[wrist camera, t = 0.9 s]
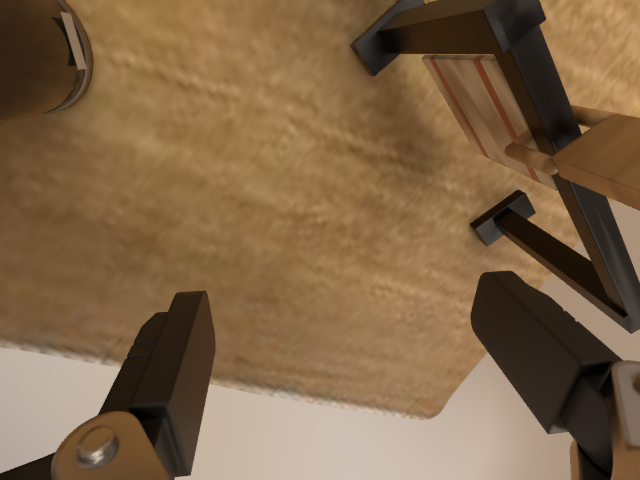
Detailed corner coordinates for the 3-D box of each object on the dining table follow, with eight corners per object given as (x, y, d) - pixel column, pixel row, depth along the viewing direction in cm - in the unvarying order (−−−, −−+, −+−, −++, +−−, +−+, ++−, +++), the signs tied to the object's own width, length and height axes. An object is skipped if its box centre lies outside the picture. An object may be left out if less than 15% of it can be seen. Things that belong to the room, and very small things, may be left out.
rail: (349, 44, 28) (433, 36, 14) (410, -12, 27) (573, -87, 13) (481, 241, 39) (605, 353, 25) (529, 208, 38) (690, 305, 23)
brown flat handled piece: (402, 74, 26) (650, 116, 9) (445, 37, 25) (809, 4, 8) (457, 165, 30) (703, 311, 13) (497, 134, 29) (814, 250, 12)
